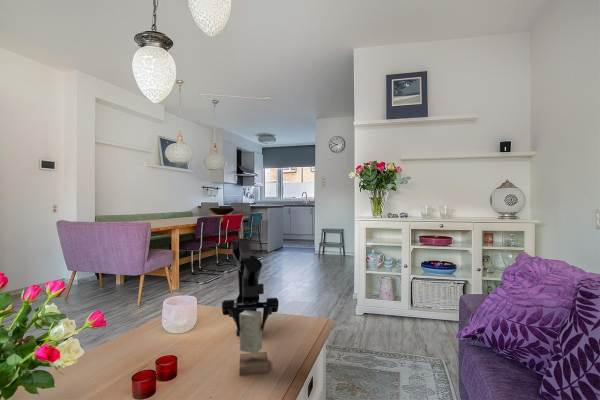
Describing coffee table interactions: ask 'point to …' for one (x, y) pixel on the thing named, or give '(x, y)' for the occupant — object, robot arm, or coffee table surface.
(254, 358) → the walnut plinth
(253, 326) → the skincare box
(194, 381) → the coffee table surface
